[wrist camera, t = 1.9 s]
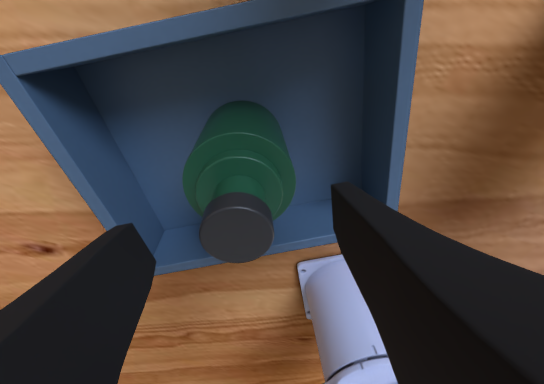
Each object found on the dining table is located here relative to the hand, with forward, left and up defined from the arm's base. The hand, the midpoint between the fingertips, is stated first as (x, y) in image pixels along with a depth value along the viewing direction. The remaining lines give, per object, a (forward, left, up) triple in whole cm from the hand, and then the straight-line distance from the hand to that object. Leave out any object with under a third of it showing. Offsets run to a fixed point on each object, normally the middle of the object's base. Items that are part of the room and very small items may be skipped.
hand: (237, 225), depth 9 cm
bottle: (0, 0, -9) cm, 9 cm away
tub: (0, 0, -9) cm, 9 cm away
